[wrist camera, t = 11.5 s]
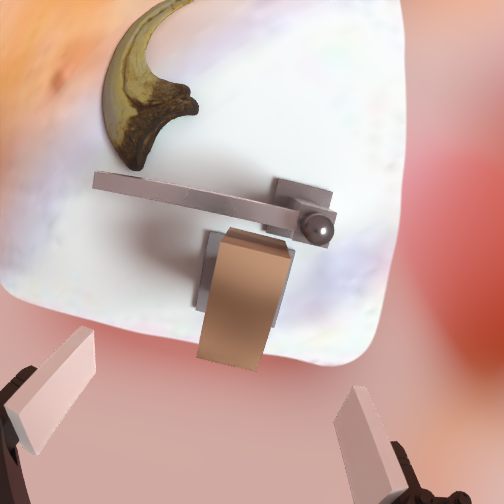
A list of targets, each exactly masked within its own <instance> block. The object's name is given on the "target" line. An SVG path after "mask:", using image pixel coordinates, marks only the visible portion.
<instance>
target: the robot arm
mask: <svg viewBox="0 0 504 504" xmlns="http://www.w3.org/2000/svg"><path fill="white" fill-rule="evenodd" d="M95 373H96V363H95V347H94V330H92V329H89V328H86V327H84V326H80V327H79V328H78V329H77V330H76V331H75V332H74V333H73V334H72V335H71V336H70V337H69V338H68V339H67V340H66V341H65V342H64V343H63V344H62V345H61V346H60V347H59V348H58V349H57V350H56V351H55V352H54V353H53V354H52V355H51V356H50V357H49V358H48V359H47V360H46V361H45V362H44V363H43V364H42V365H41V366H40V367H39V368H36V367H33V366H32V365H31V366H28V367H26V368H24V369H22V370H21V371H20V372H19V373H18V374H17V375H16V377H14V378H13V379H12V380H11V382H9V383H8V384H7V385H6V386H5V387H4V388H3V389H2V390H1V391H0V504H31V503H30V500H29V496H28V493H27V489H26V486H25V482H24V478H23V474H22V469H21V465H20V460H19V455H18V450H17V448H16V444H17V443H18V442H19V441H20V443H21V445H22V447H23V448H24V449H25V450H27V451H28V452H30V453H32V454H33V455H35V456H38V455H39V453H40V452H41V450H42V449H43V447H44V446H45V444H46V443H47V441H48V439H49V438H50V437H51V435H52V434H53V432H54V431H55V429H56V428H57V426H58V425H59V423H60V422H61V420H62V419H63V418H64V416H65V415H66V413H67V412H68V410H69V409H70V408H71V406H72V405H73V403H74V402H75V401H76V399H77V398H78V396H79V395H80V393H81V392H82V391H83V389H84V388H85V387H86V385H87V384H88V382H89V381H90V380H91V378H92V377H93V376H94V374H95ZM333 423H334V426H335V430H336V434H337V437H338V441H339V445H340V449H341V453H342V457H343V461H344V465H345V469H346V473H347V477H348V481H349V485H350V489H351V493H352V497H353V501H354V504H472V502H471V499H470V497H469V495H467V494H466V493H465V492H462V491H456V492H454V493H453V494H452V495H450V496H449V497H448V498H445V497H434V495H433V494H432V493H431V492H430V491H428V490H427V489H423V488H421V487H420V484H419V482H418V480H417V477H416V475H415V473H414V470H413V468H412V466H411V465H410V461H409V459H408V458H407V454H406V453H405V450H404V448H403V447H402V446H401V445H400V444H399V443H398V442H397V441H394V442H393V441H392V442H390V441H389V438H388V436H387V433H386V431H385V429H384V426H383V424H382V422H381V420H380V417H379V416H378V413H377V411H376V408H375V406H374V404H373V401H372V399H371V397H370V395H369V393H368V390H367V388H366V387H365V386H352V388H351V390H350V392H349V394H348V396H347V398H346V400H345V402H344V403H343V406H342V407H341V409H340V411H339V413H338V415H337V416H336V418H335V420H334V422H333Z"/></svg>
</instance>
